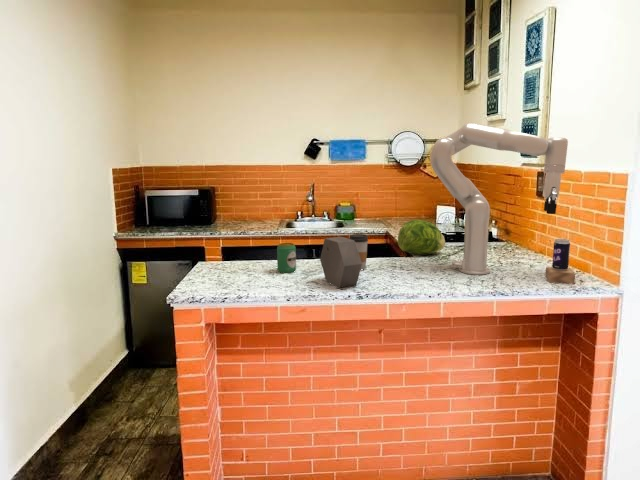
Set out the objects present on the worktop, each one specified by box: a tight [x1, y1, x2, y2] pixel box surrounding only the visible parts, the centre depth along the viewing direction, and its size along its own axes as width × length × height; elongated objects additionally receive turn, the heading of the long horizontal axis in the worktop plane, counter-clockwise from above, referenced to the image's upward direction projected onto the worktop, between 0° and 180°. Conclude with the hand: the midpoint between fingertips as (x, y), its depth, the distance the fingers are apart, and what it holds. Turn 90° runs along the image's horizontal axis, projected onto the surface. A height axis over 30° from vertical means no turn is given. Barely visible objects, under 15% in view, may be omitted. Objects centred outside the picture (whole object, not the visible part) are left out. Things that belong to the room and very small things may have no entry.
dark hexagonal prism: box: [319, 236, 362, 289], centre depth 190 cm, size 17×8×21 cm
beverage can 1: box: [276, 242, 297, 274], centre depth 210 cm, size 8×8×12 cm
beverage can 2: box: [551, 238, 571, 271], centre depth 192 cm, size 6×6×12 cm
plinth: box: [544, 266, 576, 285], centre depth 193 cm, size 9×9×4 cm
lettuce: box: [397, 219, 446, 256], centre depth 245 cm, size 18×23×19 cm
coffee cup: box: [348, 233, 369, 270], centre depth 213 cm, size 8×8×15 cm
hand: (549, 212), depth 196 cm, fingers open, 9 cm apart
